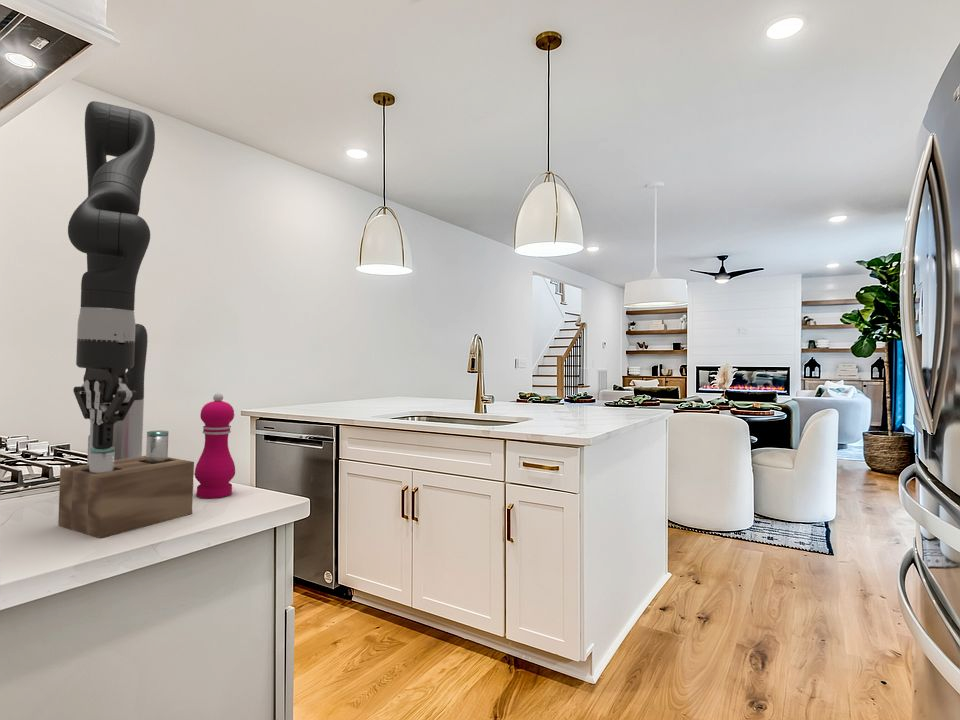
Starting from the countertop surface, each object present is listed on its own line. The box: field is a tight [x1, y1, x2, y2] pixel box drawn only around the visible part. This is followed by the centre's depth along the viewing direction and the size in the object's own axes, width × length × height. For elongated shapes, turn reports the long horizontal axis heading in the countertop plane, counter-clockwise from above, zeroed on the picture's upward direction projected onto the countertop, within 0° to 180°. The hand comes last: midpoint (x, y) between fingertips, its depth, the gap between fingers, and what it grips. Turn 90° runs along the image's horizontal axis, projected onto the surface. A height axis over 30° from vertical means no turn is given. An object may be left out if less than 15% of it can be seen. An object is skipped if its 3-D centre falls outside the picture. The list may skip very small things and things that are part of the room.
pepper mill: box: [194, 392, 236, 499], centre depth 107 cm, size 7×7×20 cm
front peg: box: [89, 446, 115, 474], centre depth 85 cm, size 3×3×8 cm
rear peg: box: [145, 430, 169, 464], centre depth 94 cm, size 3×3×8 cm
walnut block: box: [57, 455, 195, 539], centre depth 90 cm, size 11×15×9 cm
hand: (102, 447), depth 85 cm, fingers closed
